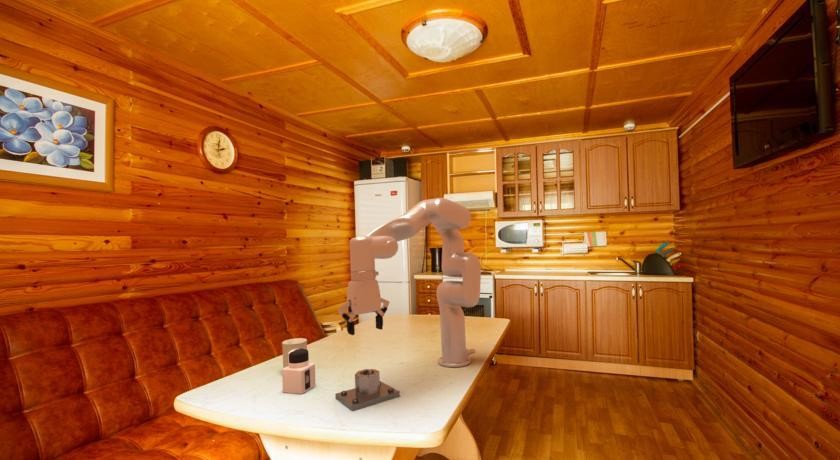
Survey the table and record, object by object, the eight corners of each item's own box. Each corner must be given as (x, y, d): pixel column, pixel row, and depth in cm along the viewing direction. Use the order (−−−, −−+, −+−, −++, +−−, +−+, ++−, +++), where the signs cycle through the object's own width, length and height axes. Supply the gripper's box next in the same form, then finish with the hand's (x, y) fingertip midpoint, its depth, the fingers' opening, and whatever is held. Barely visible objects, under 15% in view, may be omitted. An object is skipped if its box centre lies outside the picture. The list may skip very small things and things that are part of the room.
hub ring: (372, 386, 125) (371, 367, 125) (383, 392, 119) (382, 372, 119) (352, 392, 121) (351, 372, 121) (363, 398, 115) (362, 378, 115)
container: (316, 385, 132) (314, 347, 132) (302, 394, 125) (300, 353, 125) (297, 384, 134) (295, 346, 135) (282, 392, 127) (281, 352, 127)
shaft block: (380, 385, 129) (379, 365, 129) (399, 396, 119) (398, 374, 120) (335, 398, 120) (334, 376, 120) (352, 411, 110) (351, 387, 110)
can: (277, 374, 146) (276, 342, 146) (294, 366, 155) (293, 336, 155) (297, 376, 143) (296, 343, 143) (313, 368, 151) (312, 337, 152)
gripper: (381, 273, 129) (383, 325, 129) (332, 278, 119) (334, 334, 119) (393, 274, 123) (395, 328, 122) (342, 279, 113) (344, 338, 112)
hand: (365, 331), depth 120 cm, fingers open, 9 cm apart
